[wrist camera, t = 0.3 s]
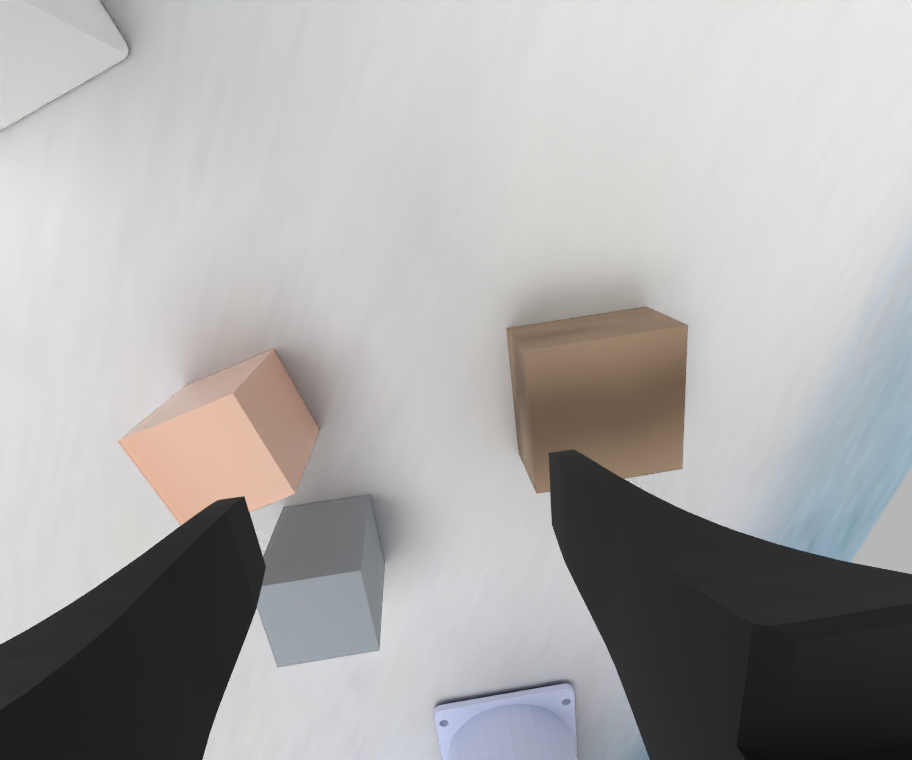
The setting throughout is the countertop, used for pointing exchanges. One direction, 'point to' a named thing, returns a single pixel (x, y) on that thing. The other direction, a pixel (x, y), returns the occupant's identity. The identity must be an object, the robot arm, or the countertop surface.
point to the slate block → (323, 582)
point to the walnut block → (600, 391)
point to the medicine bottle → (51, 51)
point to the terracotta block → (226, 439)
